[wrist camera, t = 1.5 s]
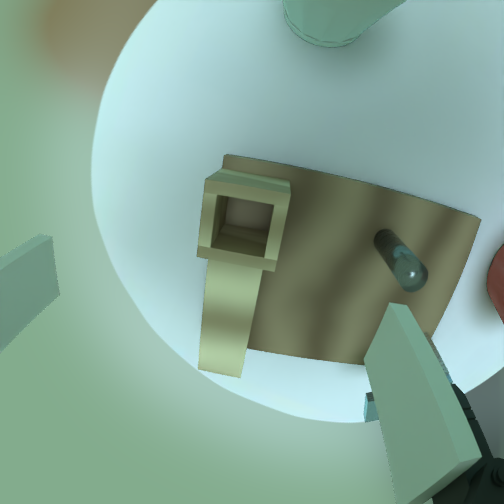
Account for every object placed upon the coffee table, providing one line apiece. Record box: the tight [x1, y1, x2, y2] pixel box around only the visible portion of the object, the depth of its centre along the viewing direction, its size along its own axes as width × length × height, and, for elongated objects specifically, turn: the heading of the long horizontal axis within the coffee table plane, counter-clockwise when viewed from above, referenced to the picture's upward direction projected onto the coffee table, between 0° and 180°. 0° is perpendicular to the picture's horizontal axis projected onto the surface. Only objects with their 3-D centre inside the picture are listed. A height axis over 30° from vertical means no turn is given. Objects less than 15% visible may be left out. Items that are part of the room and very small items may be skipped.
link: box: [197, 168, 291, 378], centre depth 22 cm, size 15×5×5 cm, turn 171°
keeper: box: [364, 332, 453, 422], centre depth 24 cm, size 3×8×7 cm, turn 101°
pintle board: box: [222, 154, 481, 365], centre depth 25 cm, size 22×17×1 cm
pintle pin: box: [374, 229, 428, 292], centre depth 20 cm, size 2×2×6 cm
